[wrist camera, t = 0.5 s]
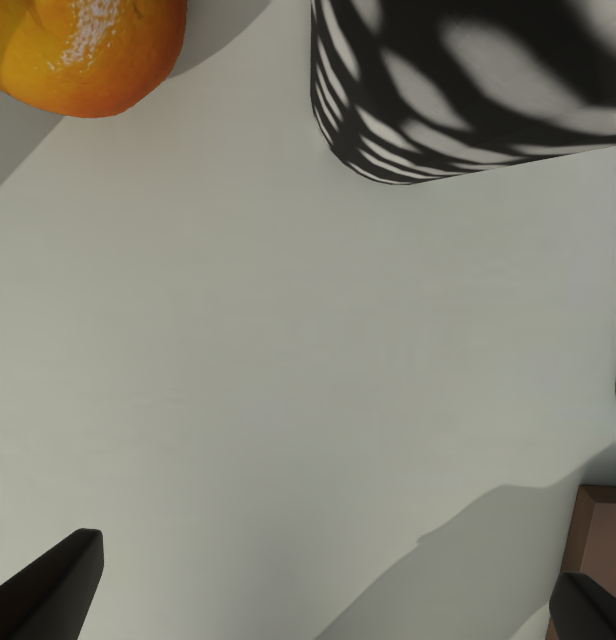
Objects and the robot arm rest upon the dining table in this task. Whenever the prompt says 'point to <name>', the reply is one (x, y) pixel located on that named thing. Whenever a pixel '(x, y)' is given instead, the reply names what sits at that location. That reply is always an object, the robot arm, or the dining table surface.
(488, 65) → the spotted tube
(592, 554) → the board
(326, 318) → the dining table surface
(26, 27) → the fruit
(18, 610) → the robot arm
